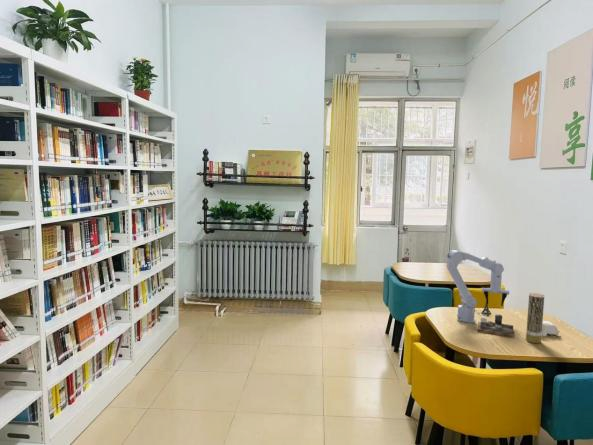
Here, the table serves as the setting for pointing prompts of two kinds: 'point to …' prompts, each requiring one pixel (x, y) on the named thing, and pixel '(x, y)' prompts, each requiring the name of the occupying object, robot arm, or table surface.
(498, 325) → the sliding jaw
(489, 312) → the eiffel tower figurine
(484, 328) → the vise base
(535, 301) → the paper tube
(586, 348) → the table surface
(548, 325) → the white curved shape
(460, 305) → the robot arm
